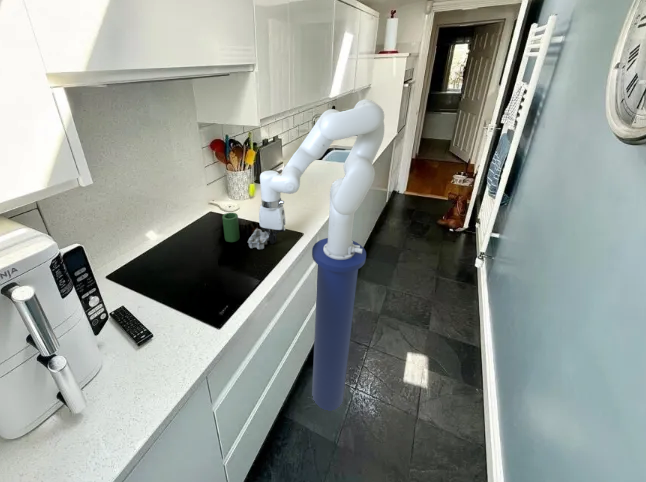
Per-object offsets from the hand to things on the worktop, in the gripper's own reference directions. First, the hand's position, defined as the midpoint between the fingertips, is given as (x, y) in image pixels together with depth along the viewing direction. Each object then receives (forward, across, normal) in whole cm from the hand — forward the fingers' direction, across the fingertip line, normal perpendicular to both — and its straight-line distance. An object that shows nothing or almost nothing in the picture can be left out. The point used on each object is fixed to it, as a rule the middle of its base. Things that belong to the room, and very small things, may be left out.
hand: (273, 241), depth 128 cm
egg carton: (+1, +6, +1) cm, 6 cm away
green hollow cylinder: (+1, +19, +1) cm, 19 cm away
